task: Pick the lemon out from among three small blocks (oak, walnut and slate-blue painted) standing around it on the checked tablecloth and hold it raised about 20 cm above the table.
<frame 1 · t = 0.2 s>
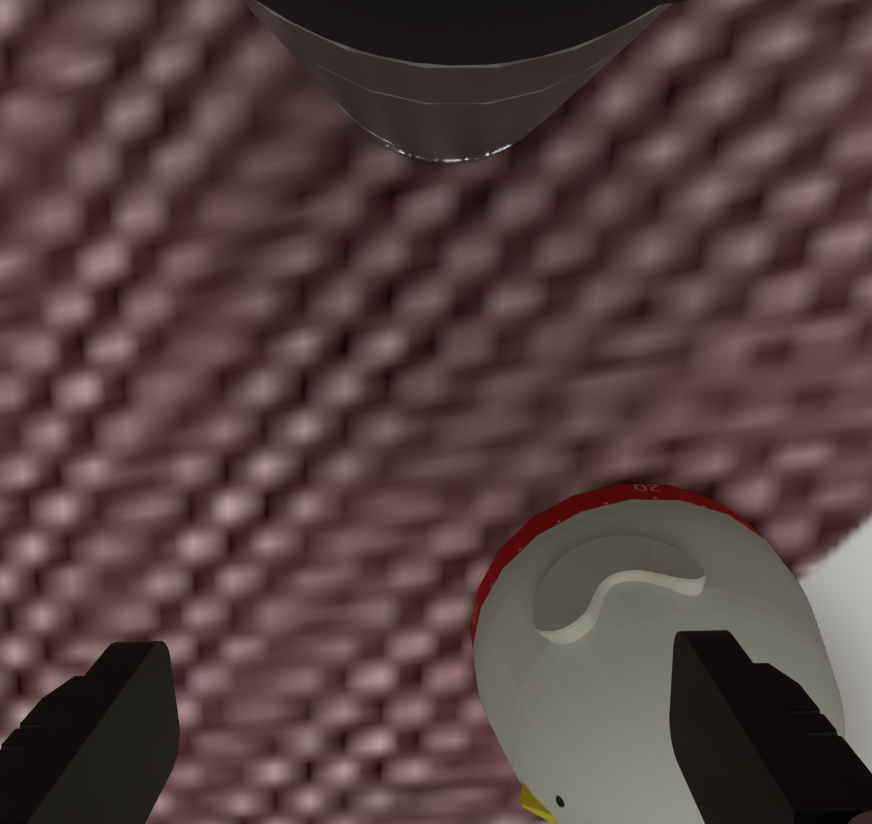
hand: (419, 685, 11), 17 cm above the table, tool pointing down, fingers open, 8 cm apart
kitchen timer: (626, 626, 31), on the table
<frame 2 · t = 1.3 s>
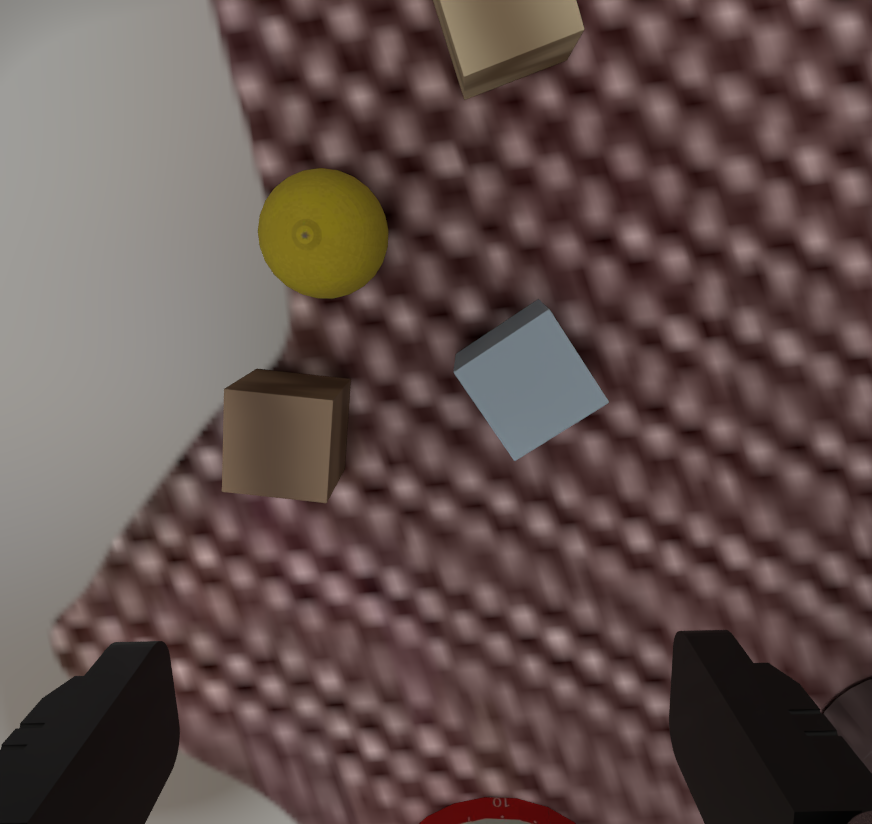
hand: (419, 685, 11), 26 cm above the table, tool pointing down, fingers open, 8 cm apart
block slate: (523, 366, 36), on the table
block walnut: (301, 419, 37), on the table
lemon: (342, 235, 35), on the table
block oak: (498, 25, 32), on the table
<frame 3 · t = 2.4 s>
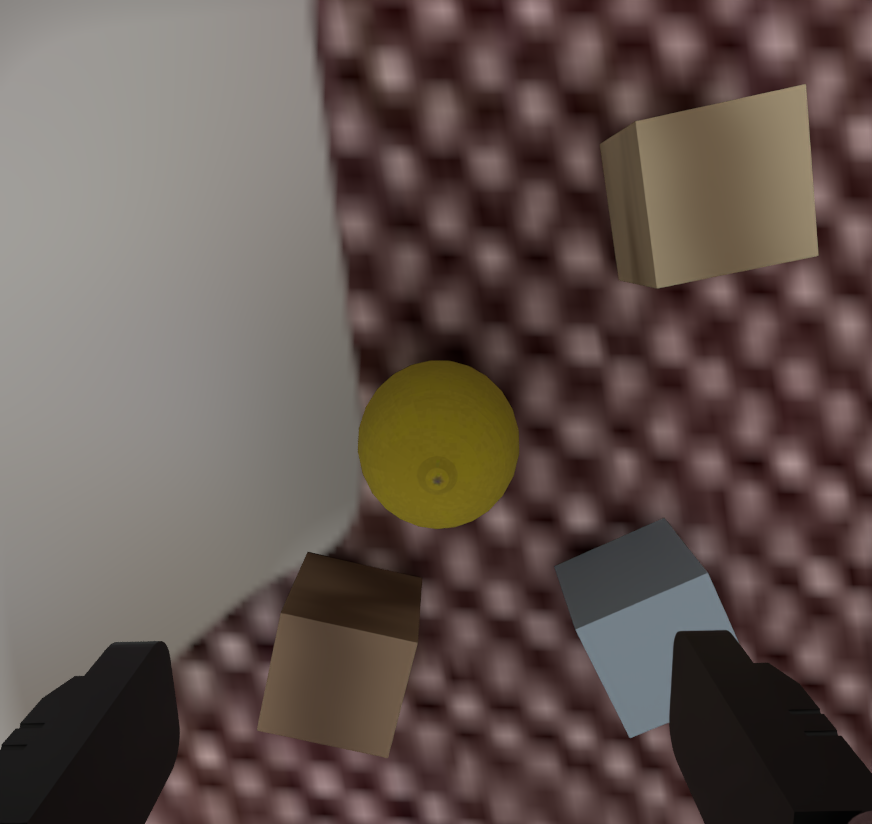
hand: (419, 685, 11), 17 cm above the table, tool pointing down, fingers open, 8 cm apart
block slate: (631, 590, 30), on the table
block walnut: (353, 615, 30), on the table
lemon: (440, 412, 28), on the table
block oak: (675, 199, 26), on the table
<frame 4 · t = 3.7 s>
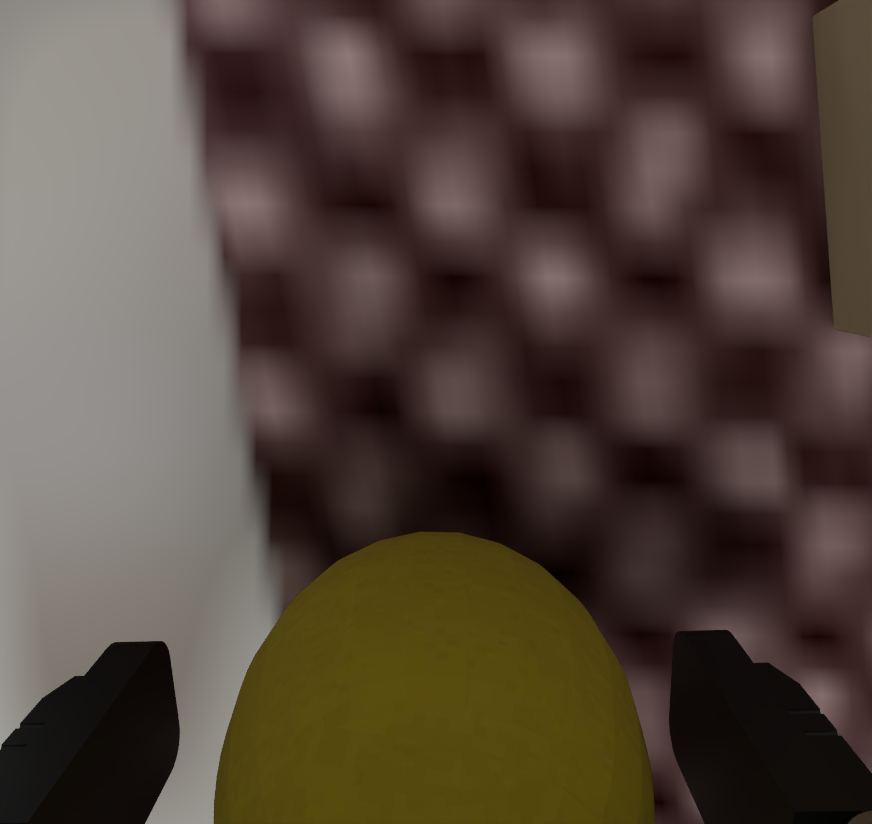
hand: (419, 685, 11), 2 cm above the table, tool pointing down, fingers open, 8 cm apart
lemon: (439, 597, 14), on the table
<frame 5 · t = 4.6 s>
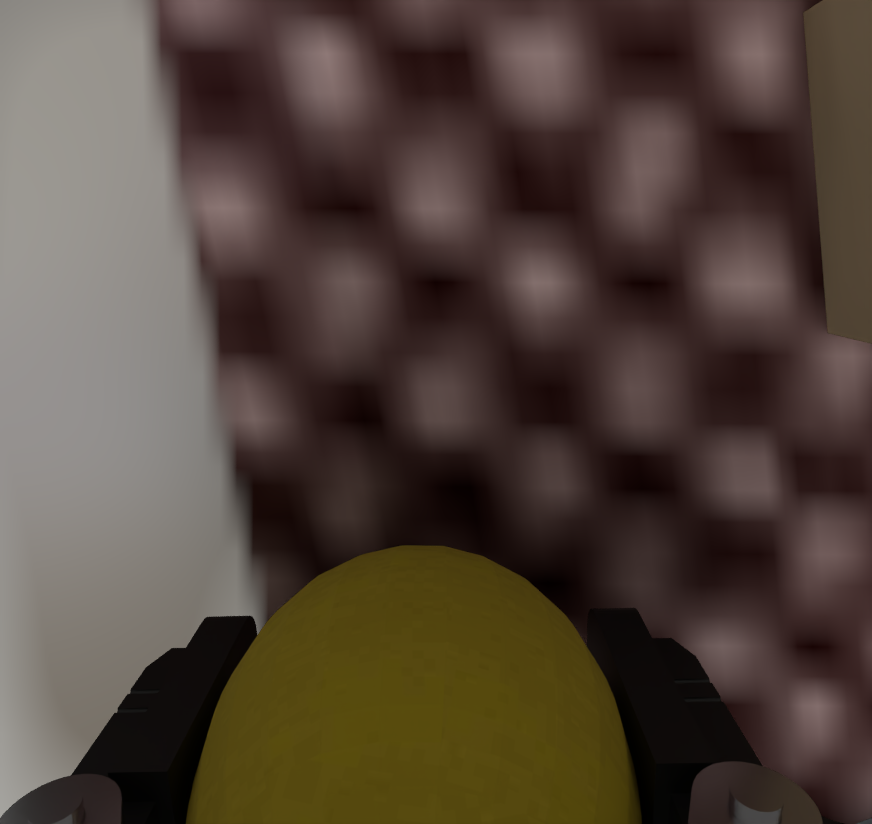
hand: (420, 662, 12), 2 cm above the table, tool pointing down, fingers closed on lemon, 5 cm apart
lemon: (426, 608, 13), on the table, touching gripper
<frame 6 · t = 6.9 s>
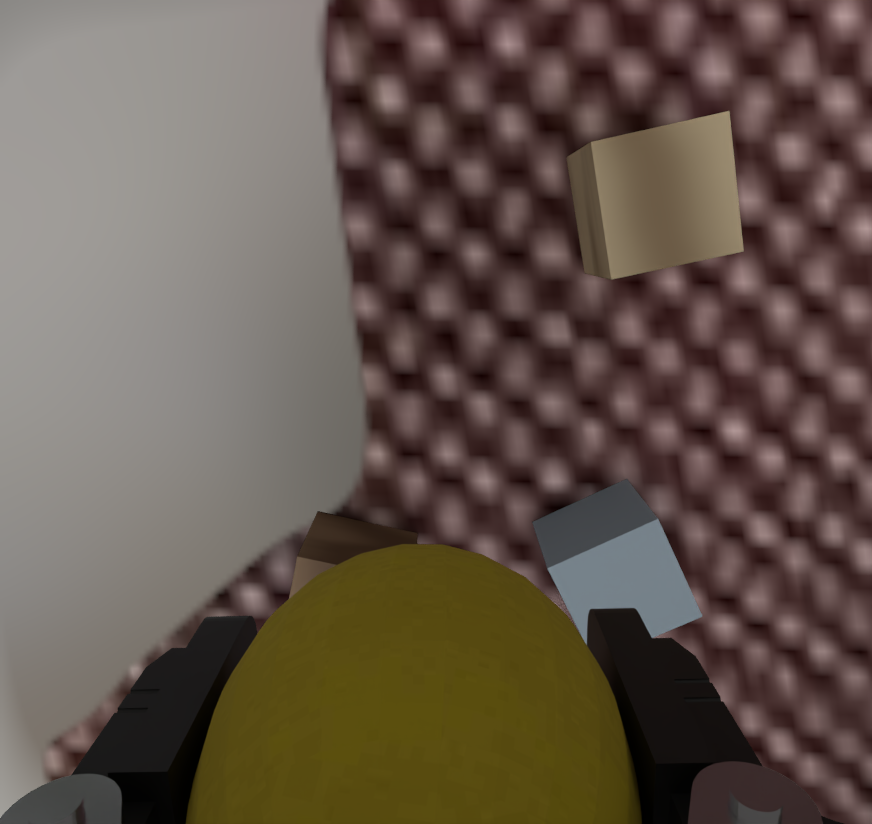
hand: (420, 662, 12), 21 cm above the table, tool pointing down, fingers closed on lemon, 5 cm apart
block slate: (599, 542, 34), on the table
block walnut: (357, 567, 35), on the table
lemon: (426, 607, 13), point 20 cm above the table, touching gripper
block oak: (631, 204, 30), on the table
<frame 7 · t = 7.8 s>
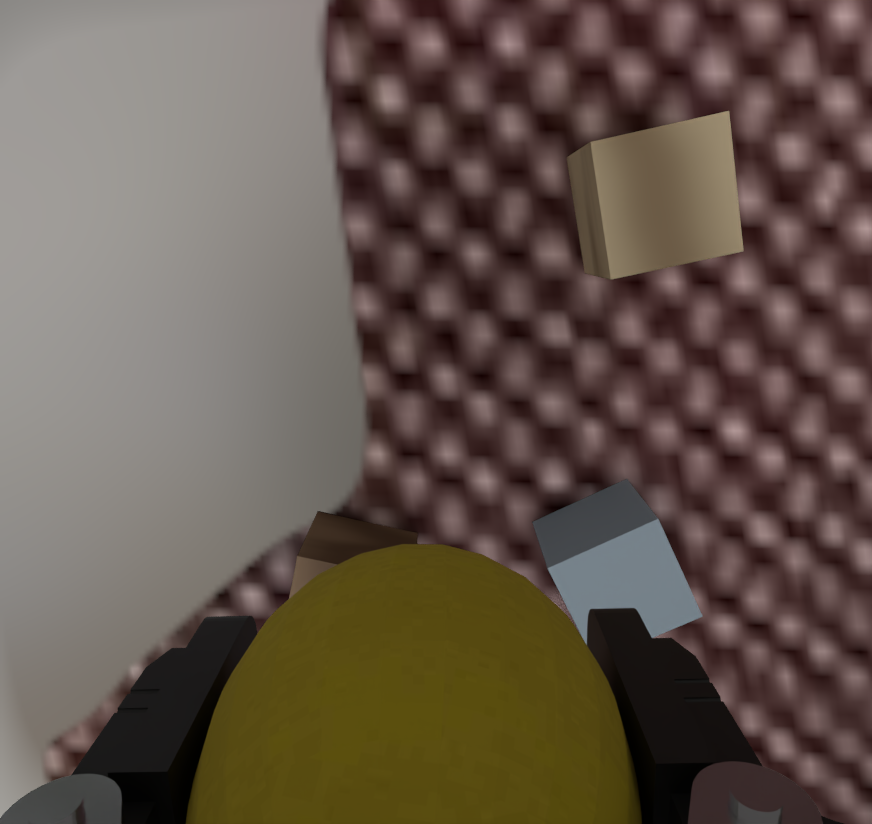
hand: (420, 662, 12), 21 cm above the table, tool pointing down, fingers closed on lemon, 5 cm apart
block slate: (599, 542, 34), on the table
block walnut: (358, 567, 35), on the table
lemon: (425, 607, 13), point 20 cm above the table, touching gripper
block oak: (631, 204, 30), on the table
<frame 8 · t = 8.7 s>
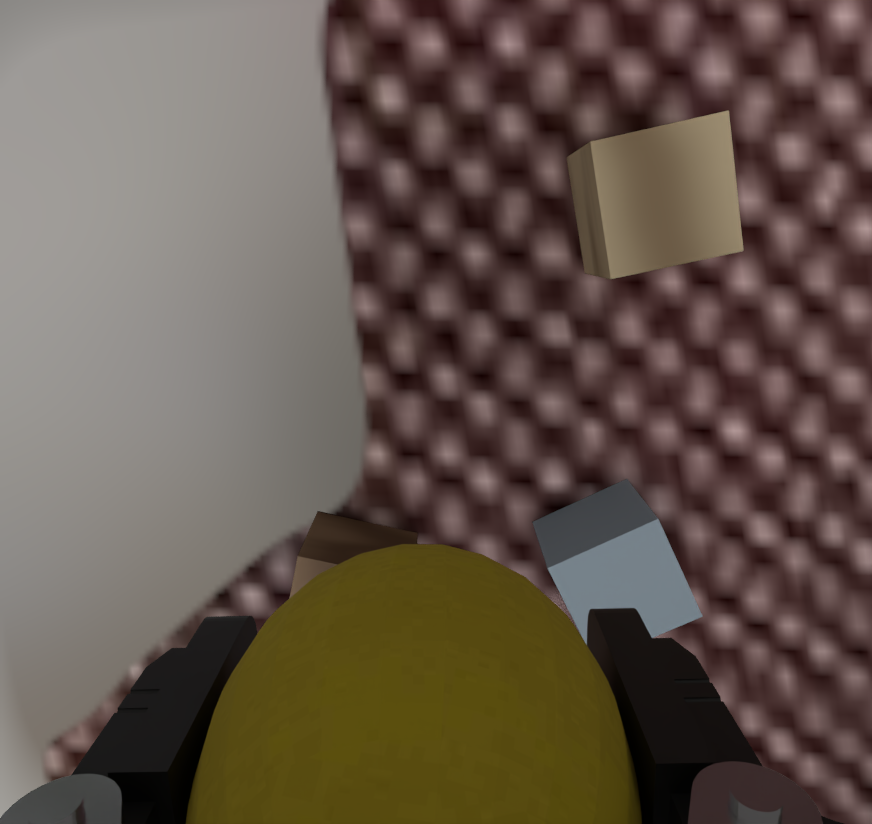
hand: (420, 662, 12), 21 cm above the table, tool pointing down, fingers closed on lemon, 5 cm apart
block slate: (599, 542, 34), on the table
block walnut: (358, 567, 35), on the table
lemon: (425, 607, 13), point 20 cm above the table, touching gripper
block oak: (631, 204, 30), on the table
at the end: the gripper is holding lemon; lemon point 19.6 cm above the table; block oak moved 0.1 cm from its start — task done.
